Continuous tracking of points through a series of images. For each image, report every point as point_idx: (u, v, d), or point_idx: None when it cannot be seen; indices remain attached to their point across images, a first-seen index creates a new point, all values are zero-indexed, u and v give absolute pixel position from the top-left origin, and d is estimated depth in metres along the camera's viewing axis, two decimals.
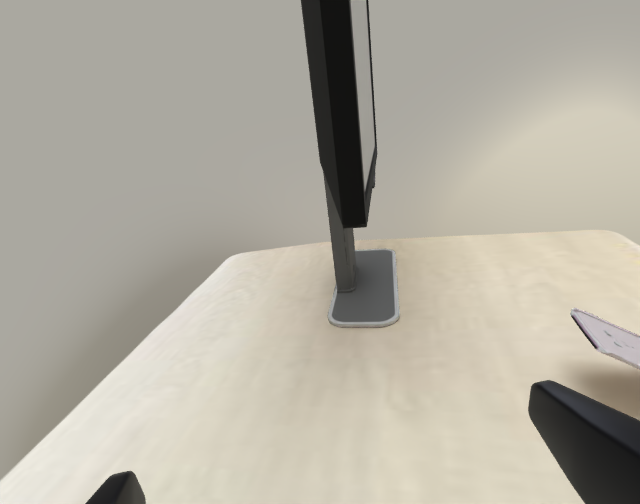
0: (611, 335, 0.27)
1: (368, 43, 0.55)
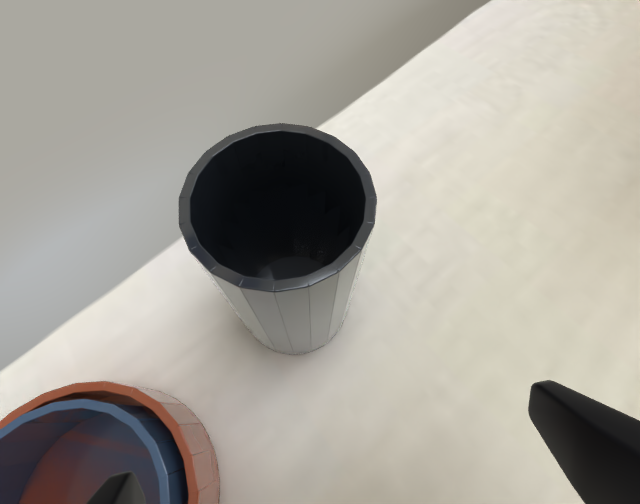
0: None
1: None
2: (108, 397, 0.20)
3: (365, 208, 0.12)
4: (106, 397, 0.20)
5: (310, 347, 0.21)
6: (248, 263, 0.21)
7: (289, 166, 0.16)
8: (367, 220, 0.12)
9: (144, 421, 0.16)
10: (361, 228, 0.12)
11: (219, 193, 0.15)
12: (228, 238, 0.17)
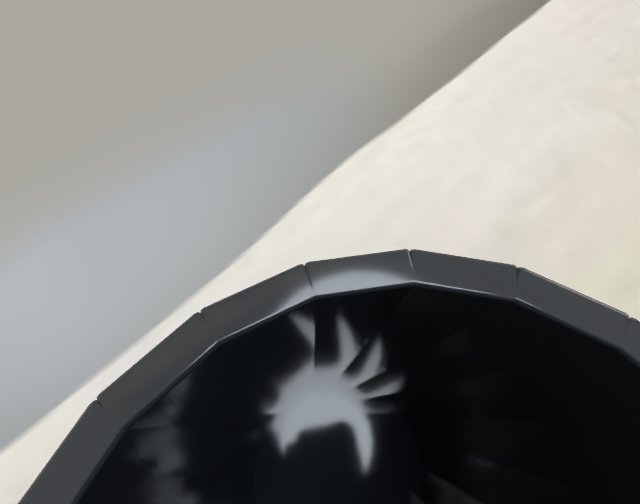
0: None
1: None
2: None
3: None
4: None
5: None
6: (257, 427, 0.11)
7: (389, 332, 0.05)
8: None
9: None
10: None
11: (177, 452, 0.04)
12: (214, 461, 0.07)
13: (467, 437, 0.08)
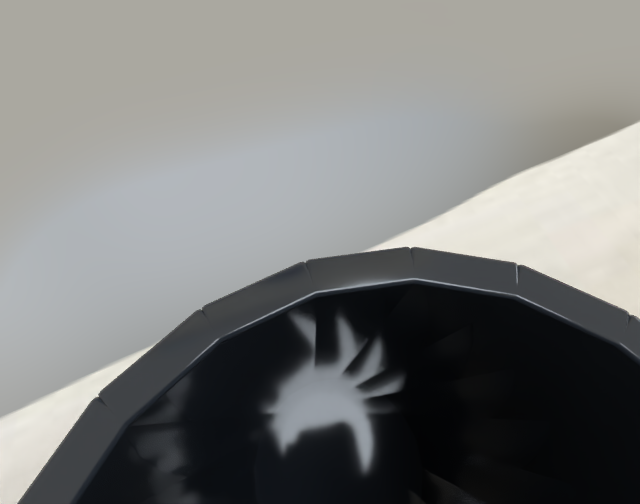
0: None
1: None
2: None
3: None
4: None
5: None
6: (258, 427, 0.11)
7: (390, 330, 0.05)
8: None
9: None
10: None
11: (178, 450, 0.04)
12: (214, 459, 0.07)
13: (467, 436, 0.08)
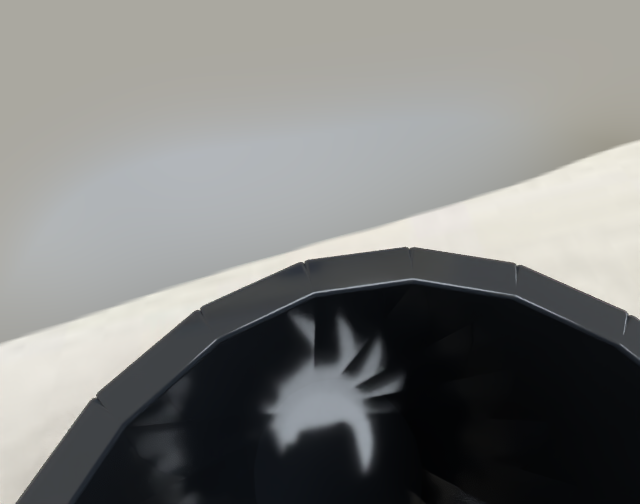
0: None
1: None
2: None
3: None
4: None
5: None
6: (257, 427, 0.11)
7: (389, 331, 0.05)
8: None
9: None
10: None
11: (176, 450, 0.04)
12: (214, 459, 0.07)
13: (467, 436, 0.08)
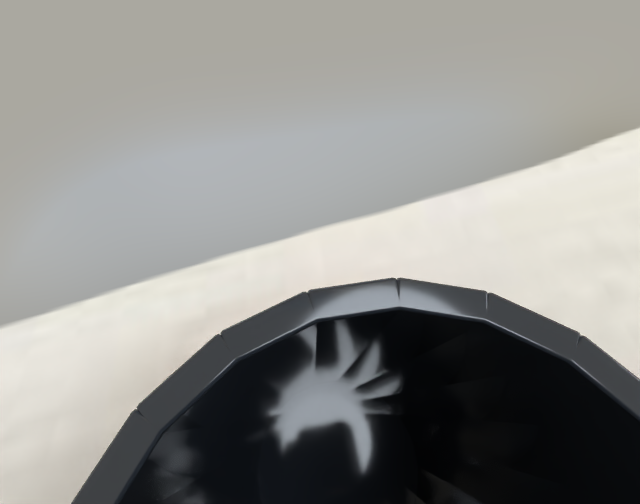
0: None
1: None
2: None
3: None
4: None
5: None
6: (261, 429, 0.12)
7: (382, 343, 0.06)
8: None
9: None
10: None
11: (195, 452, 0.05)
12: (224, 460, 0.08)
13: (457, 436, 0.09)
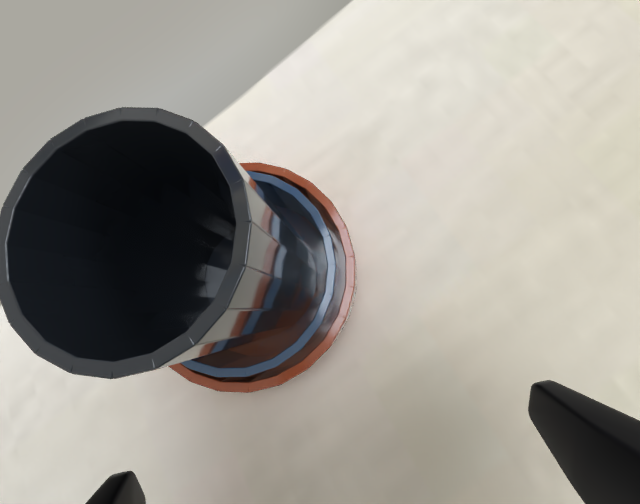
0: None
1: None
2: None
3: (233, 202, 0.09)
4: None
5: (288, 325, 0.18)
6: (184, 266, 0.18)
7: (141, 161, 0.11)
8: (241, 219, 0.08)
9: None
10: (236, 234, 0.08)
11: (69, 237, 0.11)
12: (130, 266, 0.14)
13: None
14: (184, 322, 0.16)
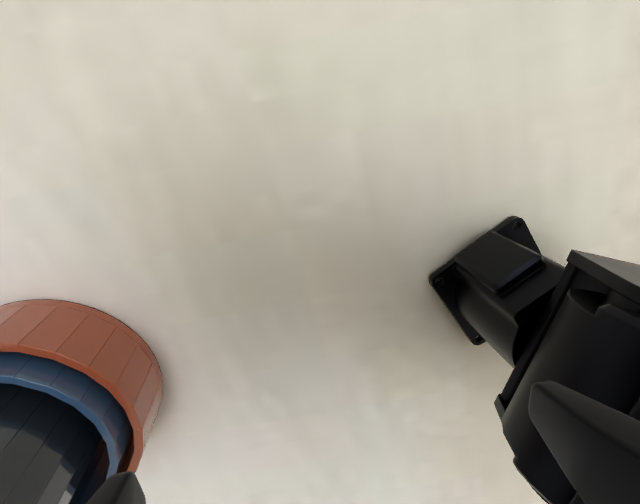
0: None
1: None
2: None
3: None
4: None
5: None
6: None
7: None
8: None
9: None
10: None
11: None
12: None
13: None
14: None
